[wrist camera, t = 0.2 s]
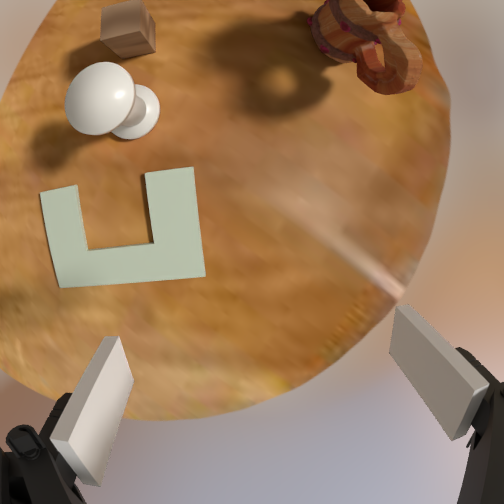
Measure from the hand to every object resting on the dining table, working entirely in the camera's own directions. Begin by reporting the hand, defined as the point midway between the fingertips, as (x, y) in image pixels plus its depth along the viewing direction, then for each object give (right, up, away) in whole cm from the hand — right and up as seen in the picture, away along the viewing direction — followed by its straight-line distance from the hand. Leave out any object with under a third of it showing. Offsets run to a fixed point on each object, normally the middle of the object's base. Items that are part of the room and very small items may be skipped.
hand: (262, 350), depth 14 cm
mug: (+11, +30, +21) cm, 38 cm away
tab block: (-15, +31, +18) cm, 39 cm away
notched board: (-18, +7, +25) cm, 32 cm away
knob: (-15, +22, +21) cm, 34 cm away
